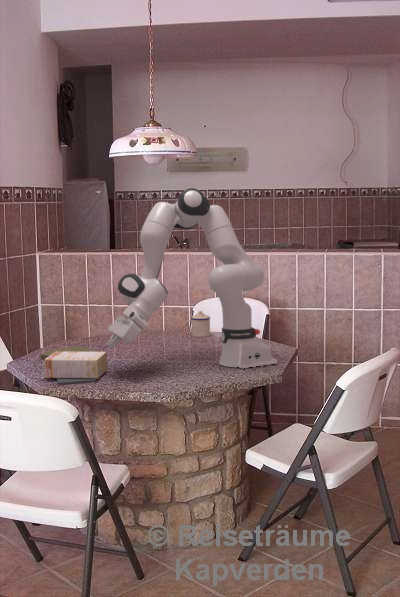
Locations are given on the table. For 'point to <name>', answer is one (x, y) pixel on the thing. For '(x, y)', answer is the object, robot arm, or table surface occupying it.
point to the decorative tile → (68, 349)
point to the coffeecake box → (75, 364)
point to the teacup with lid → (199, 325)
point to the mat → (74, 380)
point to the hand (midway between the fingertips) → (108, 346)
